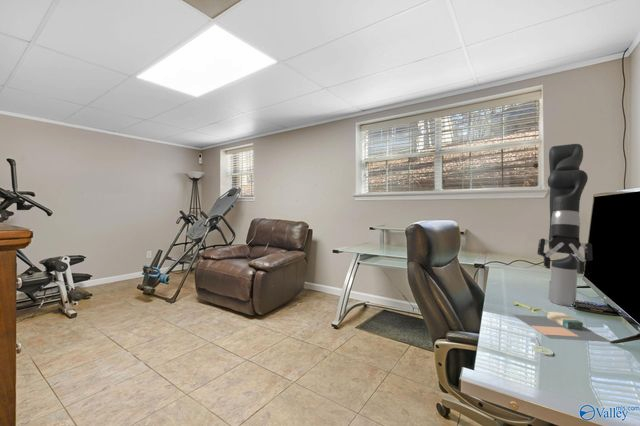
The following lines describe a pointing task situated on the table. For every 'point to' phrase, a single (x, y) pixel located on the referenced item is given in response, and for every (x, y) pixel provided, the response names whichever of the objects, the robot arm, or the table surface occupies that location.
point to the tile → (565, 320)
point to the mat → (559, 329)
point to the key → (528, 307)
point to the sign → (542, 350)
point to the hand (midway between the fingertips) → (563, 270)
